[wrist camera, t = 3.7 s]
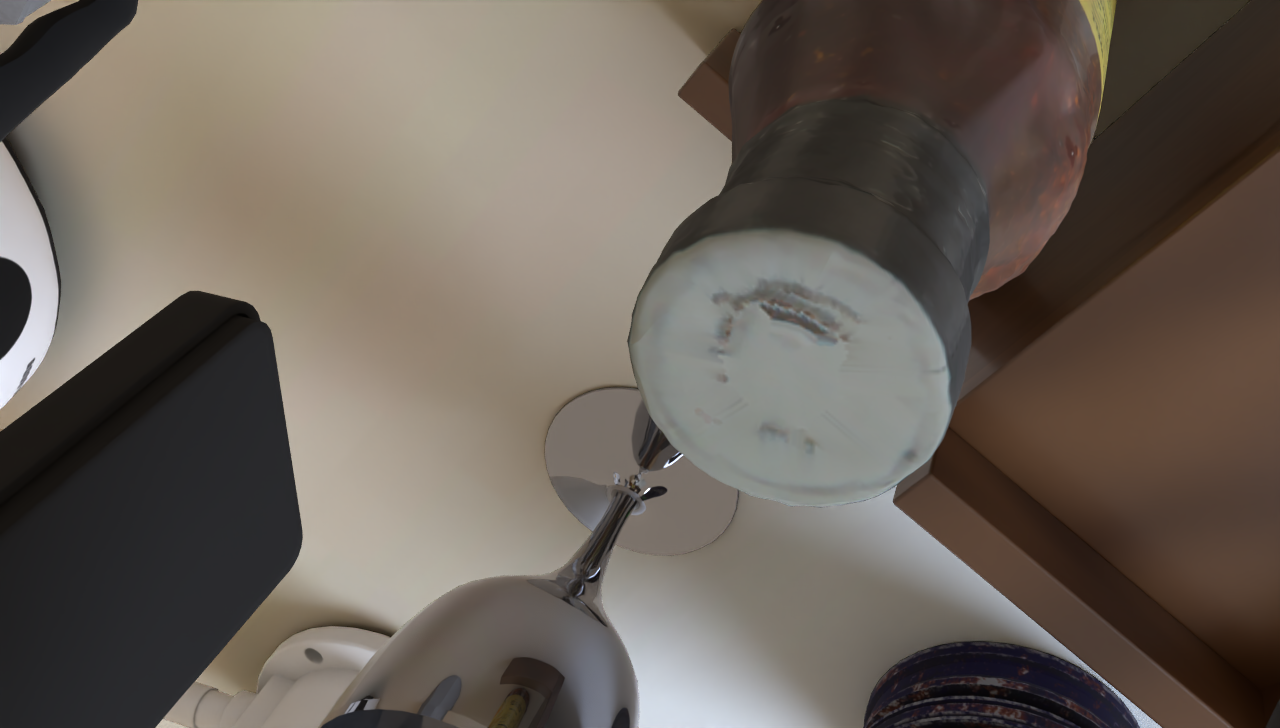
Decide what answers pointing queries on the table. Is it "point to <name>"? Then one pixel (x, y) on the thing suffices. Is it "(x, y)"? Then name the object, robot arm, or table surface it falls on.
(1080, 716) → the dark blue cylinder
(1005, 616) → the table surface
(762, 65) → the sauce bottle
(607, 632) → the wine glass
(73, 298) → the table surface
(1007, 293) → the step rack
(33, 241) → the milk container
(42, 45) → the coffeepot
